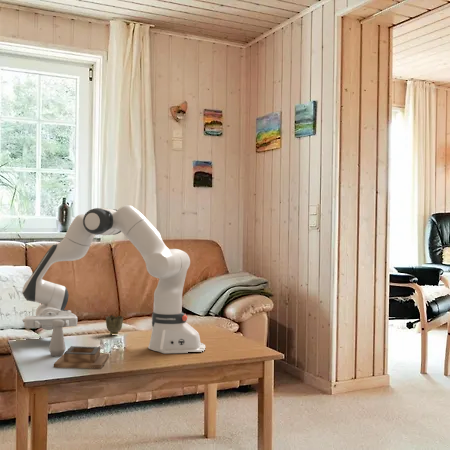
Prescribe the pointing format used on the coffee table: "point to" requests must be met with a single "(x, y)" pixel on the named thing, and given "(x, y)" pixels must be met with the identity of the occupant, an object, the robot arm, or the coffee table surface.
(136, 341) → the coffee table surface
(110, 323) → the cup
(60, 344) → the salt shaker
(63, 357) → the stepped wooden plinth
